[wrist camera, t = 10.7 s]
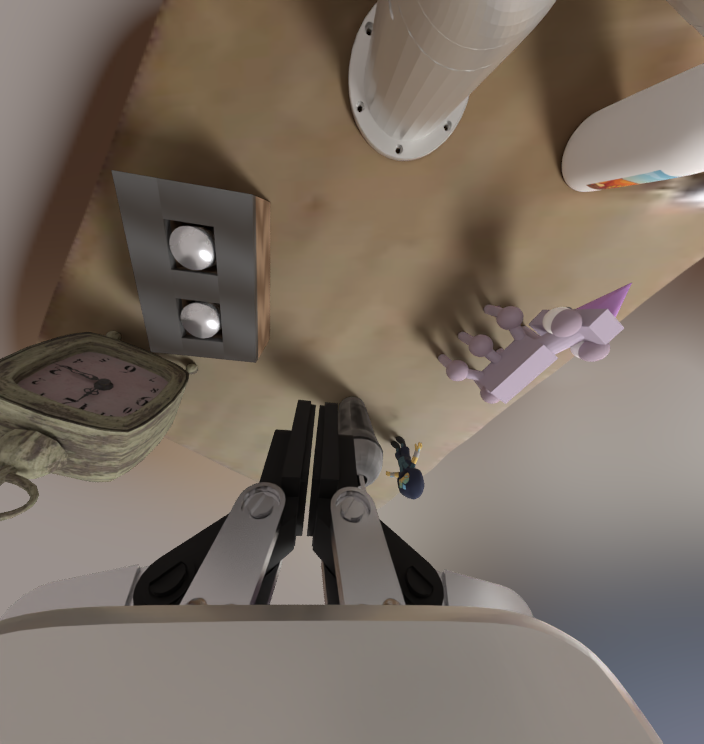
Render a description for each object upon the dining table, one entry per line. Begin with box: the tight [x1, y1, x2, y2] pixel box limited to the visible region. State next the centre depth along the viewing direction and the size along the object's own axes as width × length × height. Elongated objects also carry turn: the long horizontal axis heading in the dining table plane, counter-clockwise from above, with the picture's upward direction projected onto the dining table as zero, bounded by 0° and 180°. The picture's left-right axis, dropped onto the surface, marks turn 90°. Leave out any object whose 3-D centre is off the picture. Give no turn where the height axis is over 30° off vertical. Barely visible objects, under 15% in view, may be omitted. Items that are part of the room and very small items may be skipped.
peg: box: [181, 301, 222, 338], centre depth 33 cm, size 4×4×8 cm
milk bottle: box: [562, 63, 704, 192], centre depth 23 cm, size 8×8×20 cm
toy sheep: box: [438, 283, 632, 404], centre depth 35 cm, size 20×11×14 cm, turn 144°
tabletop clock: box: [0, 331, 198, 521], centre depth 30 cm, size 14×9×25 cm, turn 60°
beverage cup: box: [338, 397, 383, 492], centre depth 38 cm, size 7×7×20 cm
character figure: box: [386, 437, 424, 499], centre depth 46 cm, size 9×4×12 cm, turn 144°
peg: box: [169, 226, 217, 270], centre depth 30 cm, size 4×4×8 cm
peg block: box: [112, 170, 270, 363], centre depth 32 cm, size 18×12×8 cm
